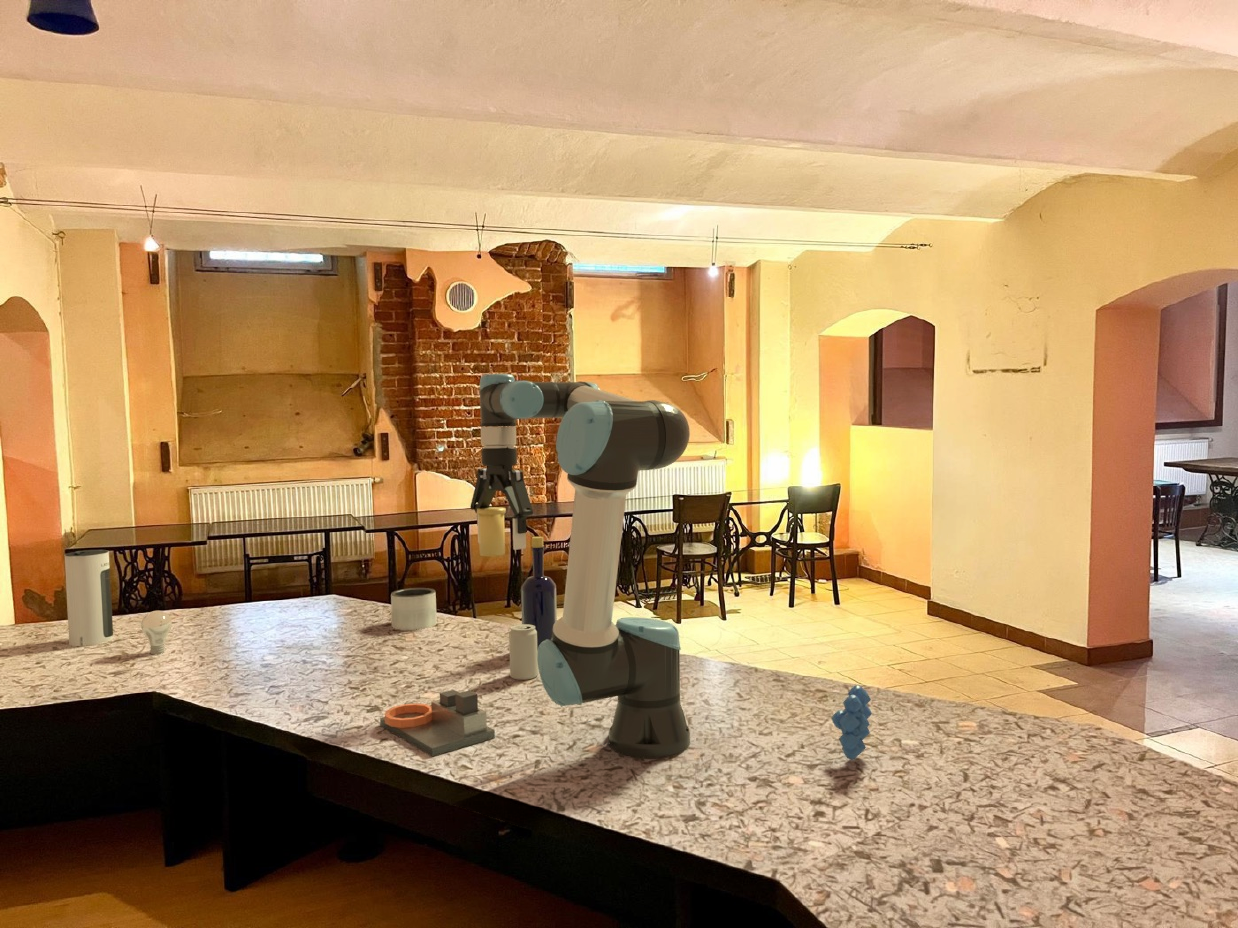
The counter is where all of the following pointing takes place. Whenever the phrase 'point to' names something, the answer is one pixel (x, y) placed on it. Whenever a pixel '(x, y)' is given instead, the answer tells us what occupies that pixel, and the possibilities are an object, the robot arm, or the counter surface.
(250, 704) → the counter surface
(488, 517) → the cap
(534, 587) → the bottle
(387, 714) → the orange ring
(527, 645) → the beverage can
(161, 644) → the light bulb
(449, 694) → the block
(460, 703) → the block
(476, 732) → the breaker panel
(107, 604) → the speaker
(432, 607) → the planter
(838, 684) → the counter surface
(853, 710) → the grapes
